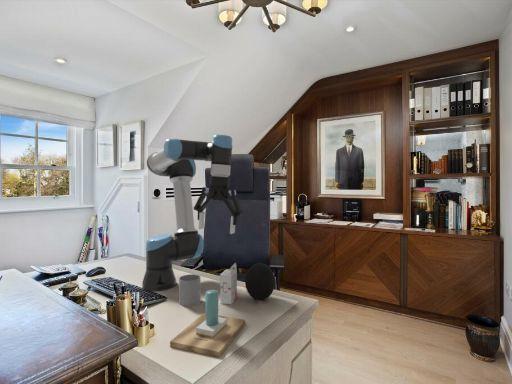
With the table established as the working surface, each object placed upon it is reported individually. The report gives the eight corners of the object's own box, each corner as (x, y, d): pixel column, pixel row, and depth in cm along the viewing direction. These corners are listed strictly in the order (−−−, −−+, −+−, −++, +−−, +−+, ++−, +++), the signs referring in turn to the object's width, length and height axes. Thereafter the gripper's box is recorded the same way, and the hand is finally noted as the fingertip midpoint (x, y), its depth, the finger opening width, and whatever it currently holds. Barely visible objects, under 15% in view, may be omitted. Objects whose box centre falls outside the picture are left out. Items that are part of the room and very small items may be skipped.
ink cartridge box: (226, 295, 124) (226, 261, 124) (237, 296, 123) (237, 262, 123) (219, 303, 116) (219, 267, 115) (231, 304, 115) (231, 268, 114)
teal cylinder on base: (196, 334, 89) (195, 295, 89) (211, 321, 97) (210, 286, 97) (213, 338, 87) (213, 298, 86) (226, 324, 95) (226, 288, 95)
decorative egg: (245, 306, 113) (245, 268, 113) (244, 294, 126) (244, 259, 125) (276, 305, 114) (277, 267, 114) (272, 293, 127) (272, 259, 126)
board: (170, 346, 85) (170, 341, 85) (203, 317, 104) (203, 312, 104) (219, 357, 80) (219, 351, 80) (245, 324, 99) (245, 319, 99)
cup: (189, 308, 111) (189, 282, 111) (174, 303, 116) (174, 278, 116) (204, 300, 119) (204, 276, 118) (190, 296, 123) (190, 273, 123)
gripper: (253, 178, 110) (249, 233, 111) (197, 174, 118) (194, 225, 119) (246, 178, 103) (242, 237, 104) (186, 173, 111) (183, 228, 112)
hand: (216, 231), depth 112 cm, fingers open, 13 cm apart
